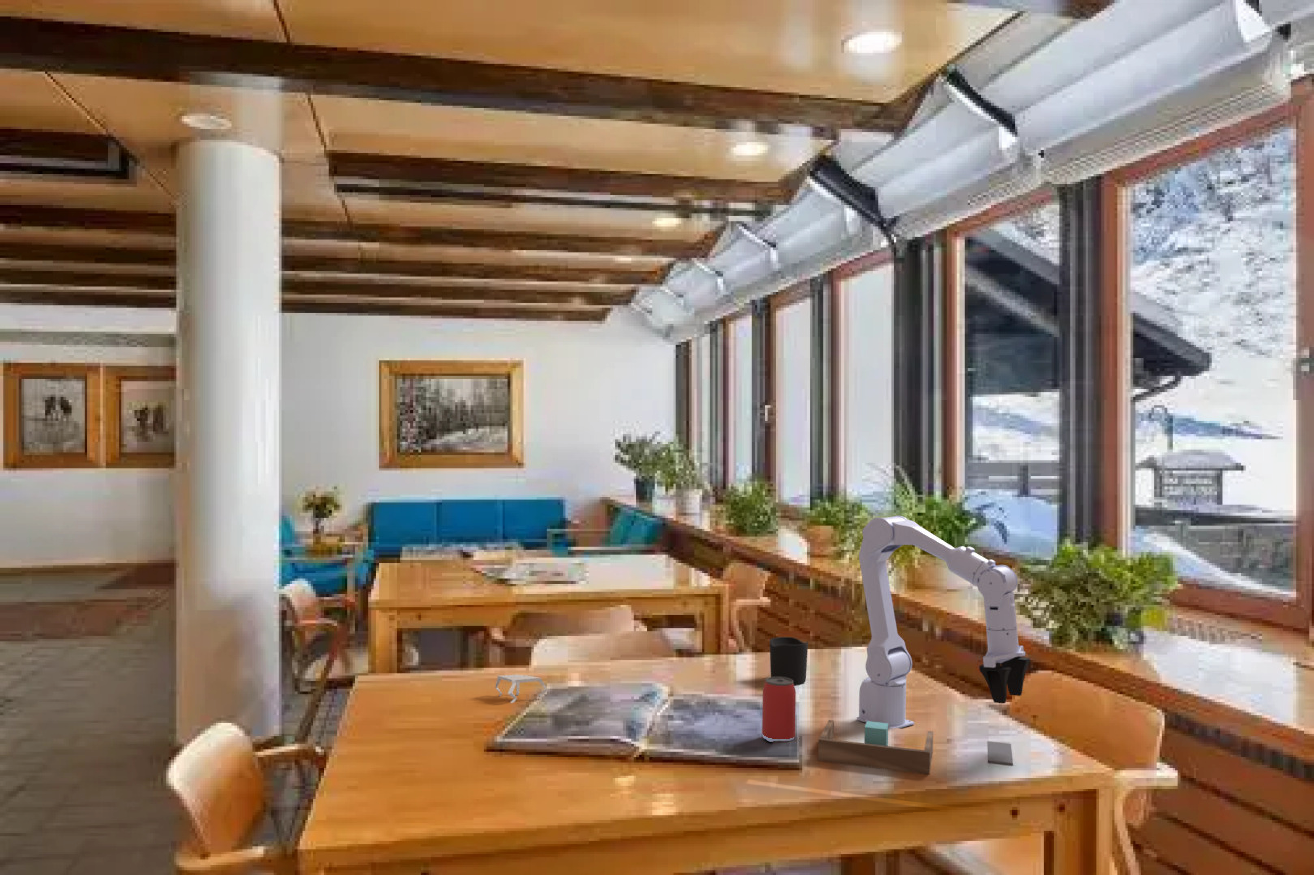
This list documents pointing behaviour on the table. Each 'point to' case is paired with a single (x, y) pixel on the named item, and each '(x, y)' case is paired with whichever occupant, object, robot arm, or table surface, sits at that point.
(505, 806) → the table surface
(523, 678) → the grey legged piece
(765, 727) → the beer can
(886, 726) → the teal block
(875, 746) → the walnut box
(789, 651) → the pen holder
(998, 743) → the charcoal mat
